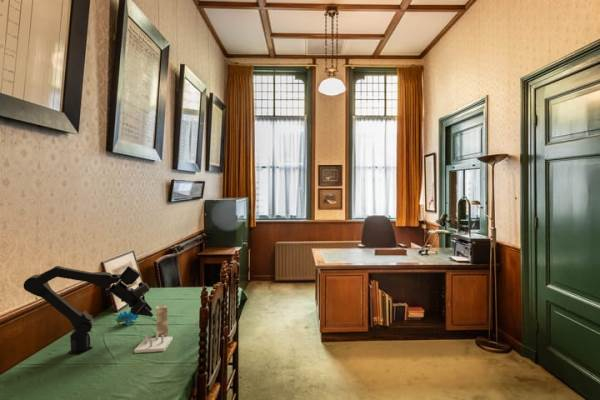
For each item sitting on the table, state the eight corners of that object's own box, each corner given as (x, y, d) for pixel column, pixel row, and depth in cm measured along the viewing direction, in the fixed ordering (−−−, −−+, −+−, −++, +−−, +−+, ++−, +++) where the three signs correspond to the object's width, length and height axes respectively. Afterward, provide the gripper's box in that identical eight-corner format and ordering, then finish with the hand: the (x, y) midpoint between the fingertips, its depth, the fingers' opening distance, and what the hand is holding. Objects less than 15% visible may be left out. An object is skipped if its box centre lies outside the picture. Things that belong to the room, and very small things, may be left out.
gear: (141, 316, 180) (135, 308, 173) (141, 327, 176) (134, 318, 169) (119, 321, 178) (112, 313, 171) (118, 332, 174) (110, 324, 167)
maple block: (157, 337, 156) (156, 309, 156) (157, 333, 160) (156, 306, 160) (168, 335, 158) (167, 307, 158) (167, 332, 162) (166, 304, 162)
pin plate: (134, 352, 141) (134, 342, 141) (145, 340, 153) (144, 331, 153) (164, 350, 142) (163, 340, 142) (172, 339, 154) (172, 329, 154)
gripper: (138, 282, 146) (166, 303, 151) (137, 274, 163) (162, 293, 168) (118, 304, 143) (148, 325, 148) (119, 293, 160) (146, 312, 165)
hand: (152, 312), depth 157 cm, fingers open, 9 cm apart
